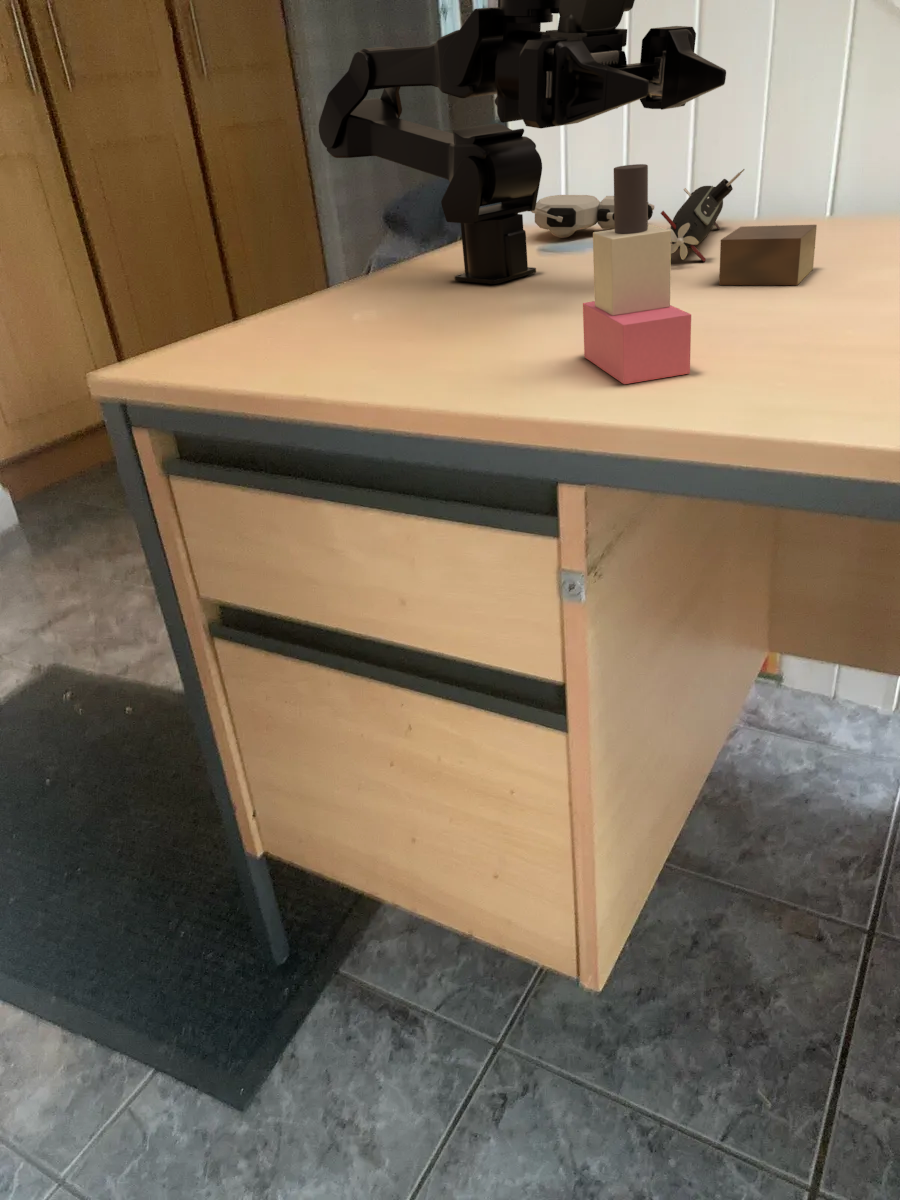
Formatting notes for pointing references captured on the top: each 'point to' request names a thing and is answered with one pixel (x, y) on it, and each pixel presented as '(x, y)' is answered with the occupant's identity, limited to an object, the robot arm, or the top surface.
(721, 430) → the top surface
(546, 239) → the top surface
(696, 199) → the submarine model
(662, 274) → the pink and tan tower
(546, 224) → the robot toy
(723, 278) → the block
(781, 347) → the top surface
